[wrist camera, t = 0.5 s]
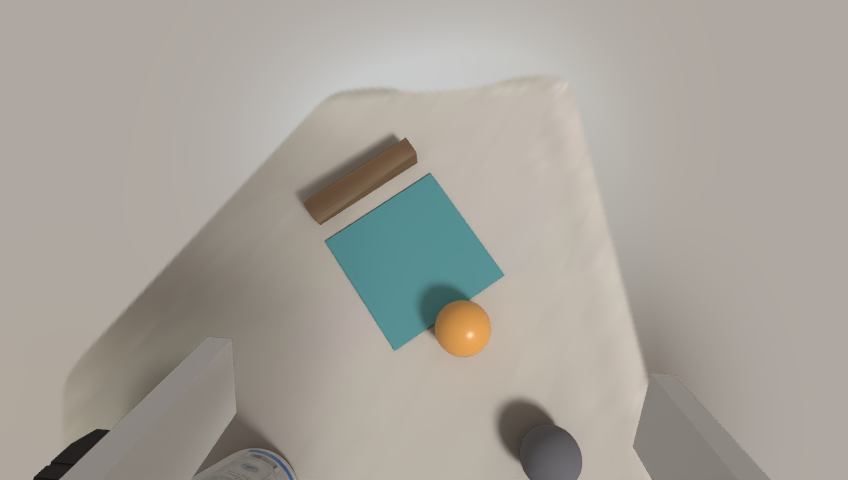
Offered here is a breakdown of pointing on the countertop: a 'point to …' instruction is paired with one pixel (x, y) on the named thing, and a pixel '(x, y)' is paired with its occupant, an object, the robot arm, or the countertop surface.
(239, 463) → the supplement tub
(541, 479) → the gray ball
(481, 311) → the object ball
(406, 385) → the countertop surface
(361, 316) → the countertop surface
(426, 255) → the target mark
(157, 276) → the countertop surface
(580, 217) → the countertop surface
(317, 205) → the wall
